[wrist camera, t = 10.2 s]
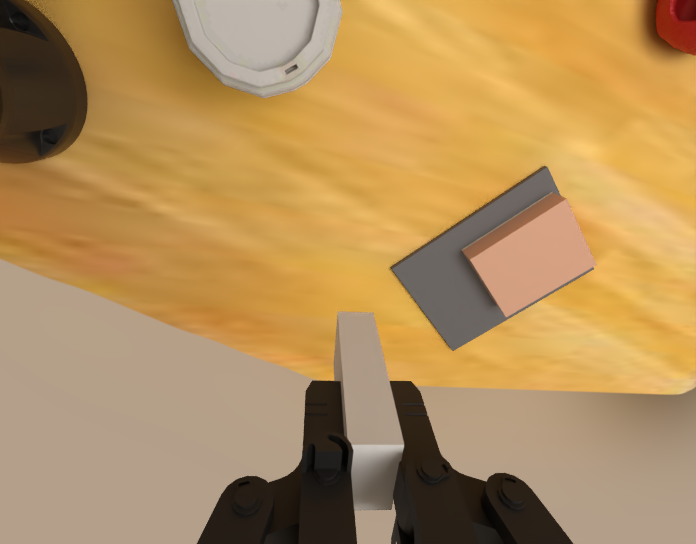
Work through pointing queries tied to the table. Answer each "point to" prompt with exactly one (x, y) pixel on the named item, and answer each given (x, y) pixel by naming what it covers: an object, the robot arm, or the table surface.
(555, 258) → the tile
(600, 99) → the table surface
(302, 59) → the disposable coffee cup
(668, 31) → the pomegranate
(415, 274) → the mat
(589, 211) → the table surface
